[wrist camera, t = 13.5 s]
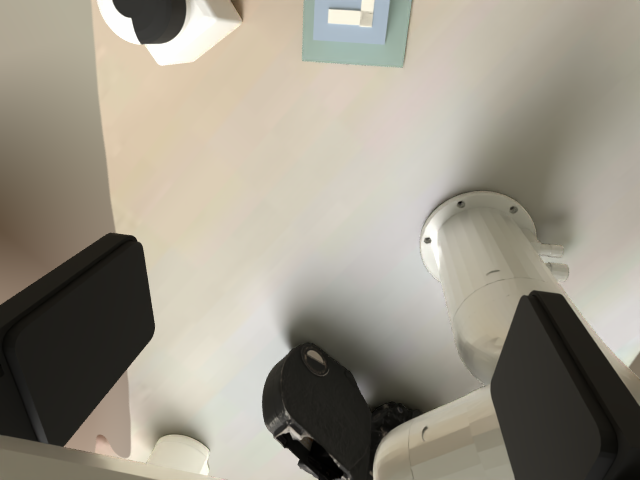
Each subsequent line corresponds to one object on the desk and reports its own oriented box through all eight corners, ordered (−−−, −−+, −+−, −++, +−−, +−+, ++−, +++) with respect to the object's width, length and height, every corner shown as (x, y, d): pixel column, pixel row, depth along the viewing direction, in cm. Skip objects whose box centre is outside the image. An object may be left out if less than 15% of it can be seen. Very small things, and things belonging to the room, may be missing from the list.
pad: (419, -57, 35) (419, -59, 34) (402, 67, 39) (402, 67, 39) (306, -61, 36) (305, -63, 35) (303, 60, 40) (302, 61, 40)
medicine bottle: (200, -51, 37) (127, -87, 27) (244, 22, 40) (193, 16, 29) (148, -4, 40) (62, -19, 29) (192, 63, 42) (127, 71, 31)
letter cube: (393, -32, 35) (394, -45, 30) (384, 44, 38) (384, 44, 33) (326, -34, 36) (316, -48, 30) (322, 40, 39) (312, 40, 33)
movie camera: (492, 429, 58) (519, 568, 43) (400, 468, 66) (396, 597, 51) (340, 292, 53) (310, 396, 38) (261, 354, 61) (210, 459, 46)
